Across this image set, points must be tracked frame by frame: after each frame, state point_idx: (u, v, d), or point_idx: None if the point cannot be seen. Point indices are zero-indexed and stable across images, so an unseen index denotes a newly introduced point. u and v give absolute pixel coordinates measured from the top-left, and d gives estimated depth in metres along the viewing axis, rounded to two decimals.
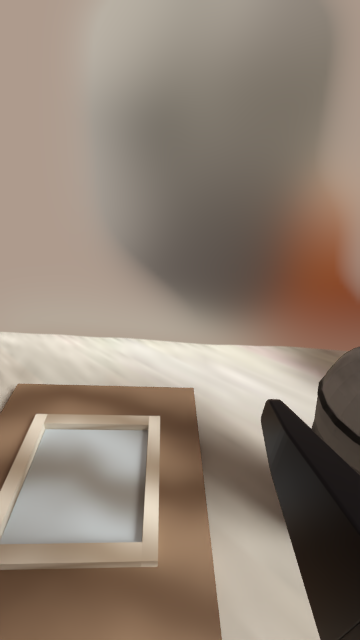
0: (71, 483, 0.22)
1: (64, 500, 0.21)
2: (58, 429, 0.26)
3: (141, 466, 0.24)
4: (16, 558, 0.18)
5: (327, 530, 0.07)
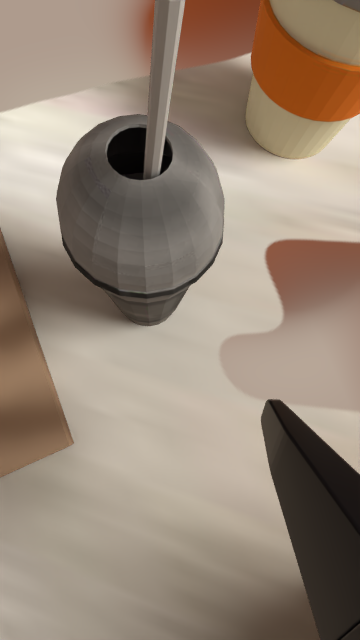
0: None
1: None
2: None
3: None
4: None
5: (327, 530, 0.07)
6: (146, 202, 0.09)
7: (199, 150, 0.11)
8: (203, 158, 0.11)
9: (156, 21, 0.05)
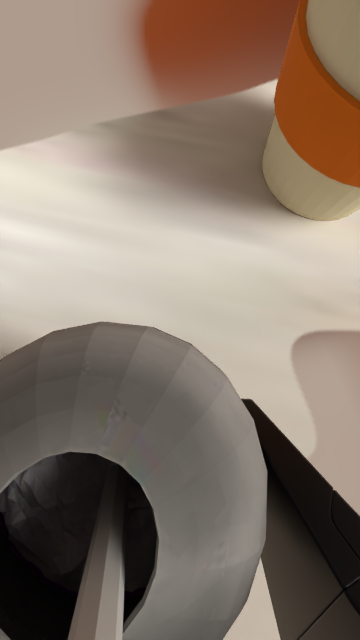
0: None
1: None
2: None
3: None
4: None
5: (286, 531, 0.06)
6: None
7: (223, 457, 0.05)
8: (232, 474, 0.05)
9: None
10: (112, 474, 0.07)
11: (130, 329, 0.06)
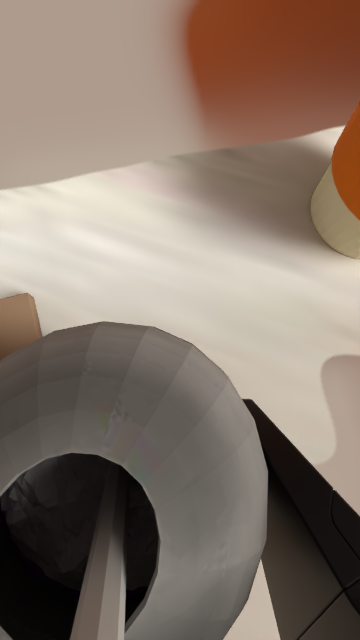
0: None
1: None
2: None
3: None
4: None
5: (285, 530, 0.06)
6: None
7: (224, 458, 0.05)
8: (233, 475, 0.05)
9: None
10: (113, 474, 0.07)
11: (131, 329, 0.06)
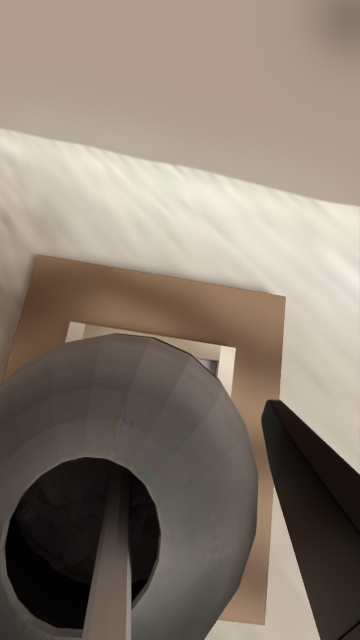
0: None
1: None
2: None
3: None
4: None
5: (327, 530, 0.07)
6: None
7: (217, 461, 0.05)
8: (226, 476, 0.05)
9: None
10: (116, 474, 0.07)
11: (134, 343, 0.07)
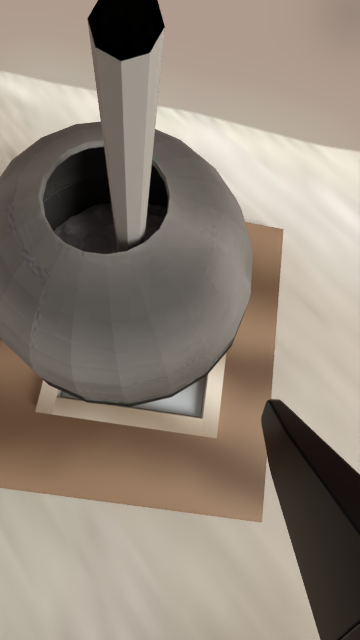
0: None
1: None
2: None
3: None
4: (81, 413, 0.18)
5: (327, 530, 0.07)
6: (118, 293, 0.05)
7: (216, 185, 0.06)
8: (223, 199, 0.06)
9: None
10: None
11: None
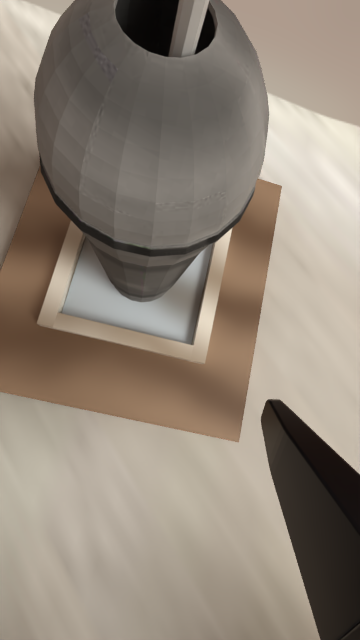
0: None
1: None
2: None
3: (201, 271, 0.22)
4: (80, 329, 0.19)
5: (327, 530, 0.07)
6: (170, 95, 0.06)
7: (249, 41, 0.07)
8: (254, 54, 0.07)
9: None
10: None
11: None
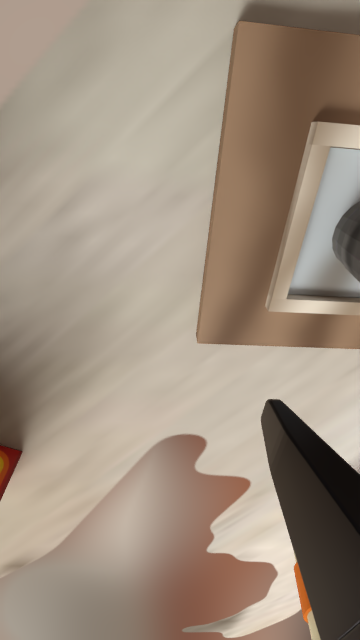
0: None
1: None
2: None
3: None
4: (307, 180, 0.16)
5: (327, 530, 0.07)
6: None
7: None
8: None
9: None
10: None
11: None
